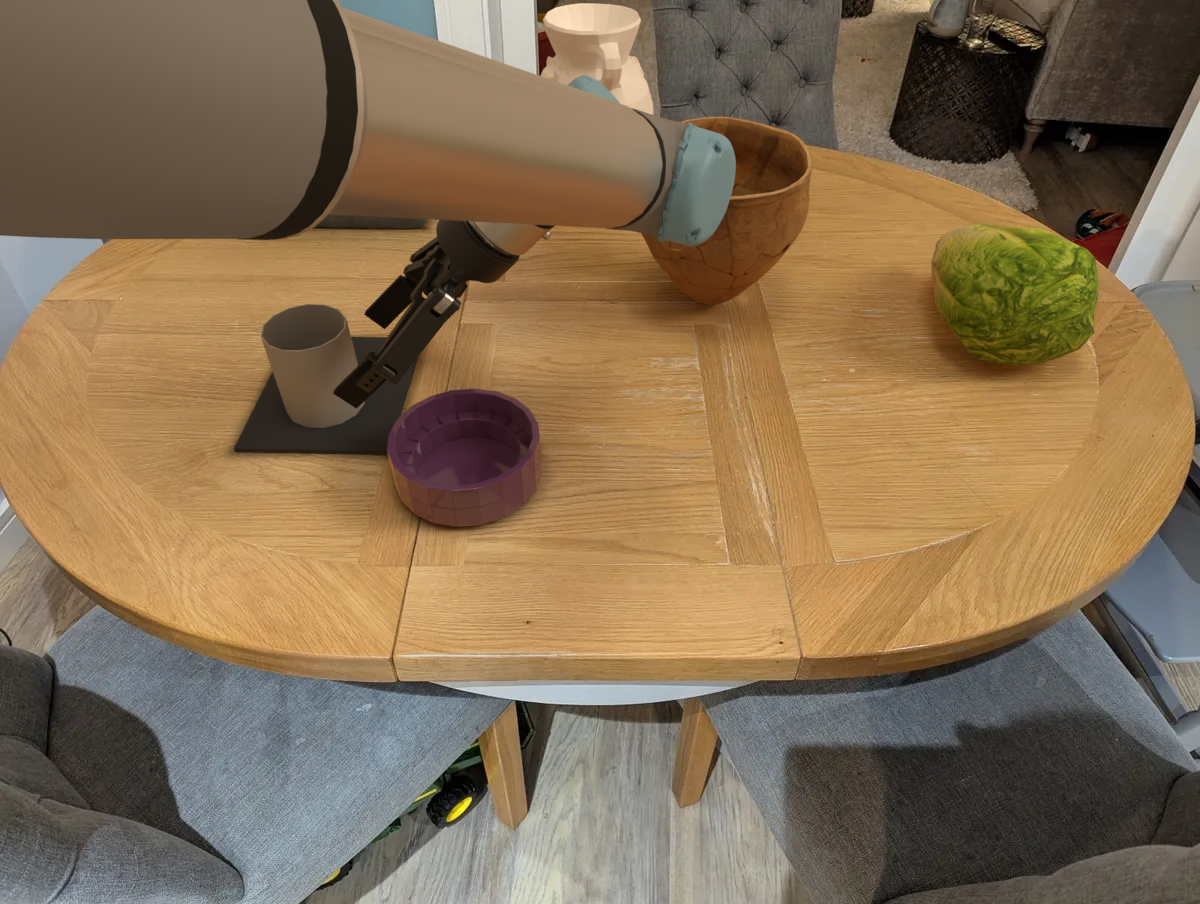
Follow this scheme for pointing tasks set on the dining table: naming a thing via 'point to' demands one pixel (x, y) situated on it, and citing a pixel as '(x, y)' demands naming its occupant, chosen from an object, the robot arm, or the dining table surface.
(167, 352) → the dining table surface
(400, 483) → the plum bowl
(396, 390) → the place mat
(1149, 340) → the dining table surface
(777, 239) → the bowl
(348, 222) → the planter
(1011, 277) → the lettuce
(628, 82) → the pitcher
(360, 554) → the dining table surface
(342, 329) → the cup
